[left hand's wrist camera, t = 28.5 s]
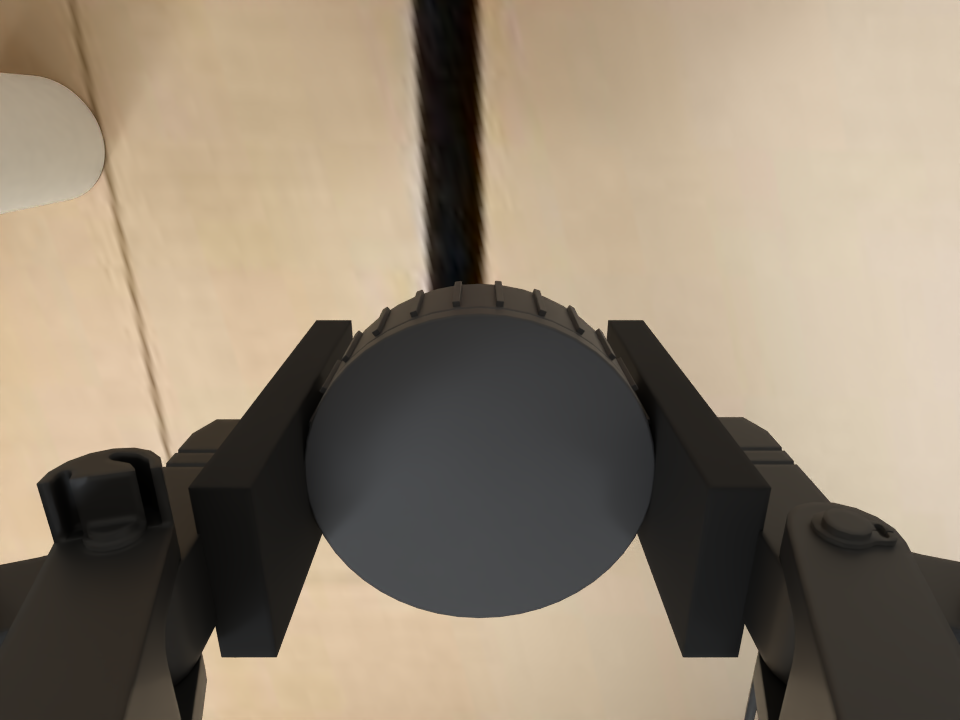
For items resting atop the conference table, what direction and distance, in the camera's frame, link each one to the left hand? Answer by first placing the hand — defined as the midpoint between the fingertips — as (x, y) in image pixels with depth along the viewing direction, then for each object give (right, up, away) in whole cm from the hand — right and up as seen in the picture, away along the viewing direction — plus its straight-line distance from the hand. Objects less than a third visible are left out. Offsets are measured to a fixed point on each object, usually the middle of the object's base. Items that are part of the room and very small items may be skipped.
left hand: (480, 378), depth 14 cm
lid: (0, -1, -4) cm, 4 cm away
